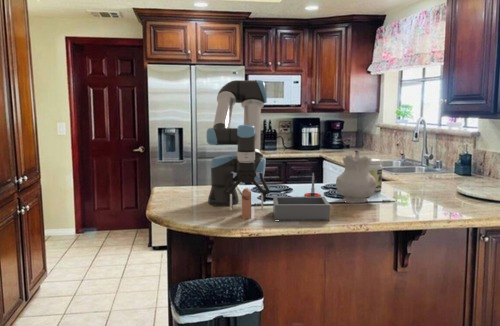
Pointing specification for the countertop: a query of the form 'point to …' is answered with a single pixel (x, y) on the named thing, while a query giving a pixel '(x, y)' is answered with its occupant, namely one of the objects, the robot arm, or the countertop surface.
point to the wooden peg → (246, 203)
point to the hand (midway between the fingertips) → (246, 209)
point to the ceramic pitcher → (356, 179)
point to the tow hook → (312, 190)
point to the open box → (301, 209)
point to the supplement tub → (376, 172)
